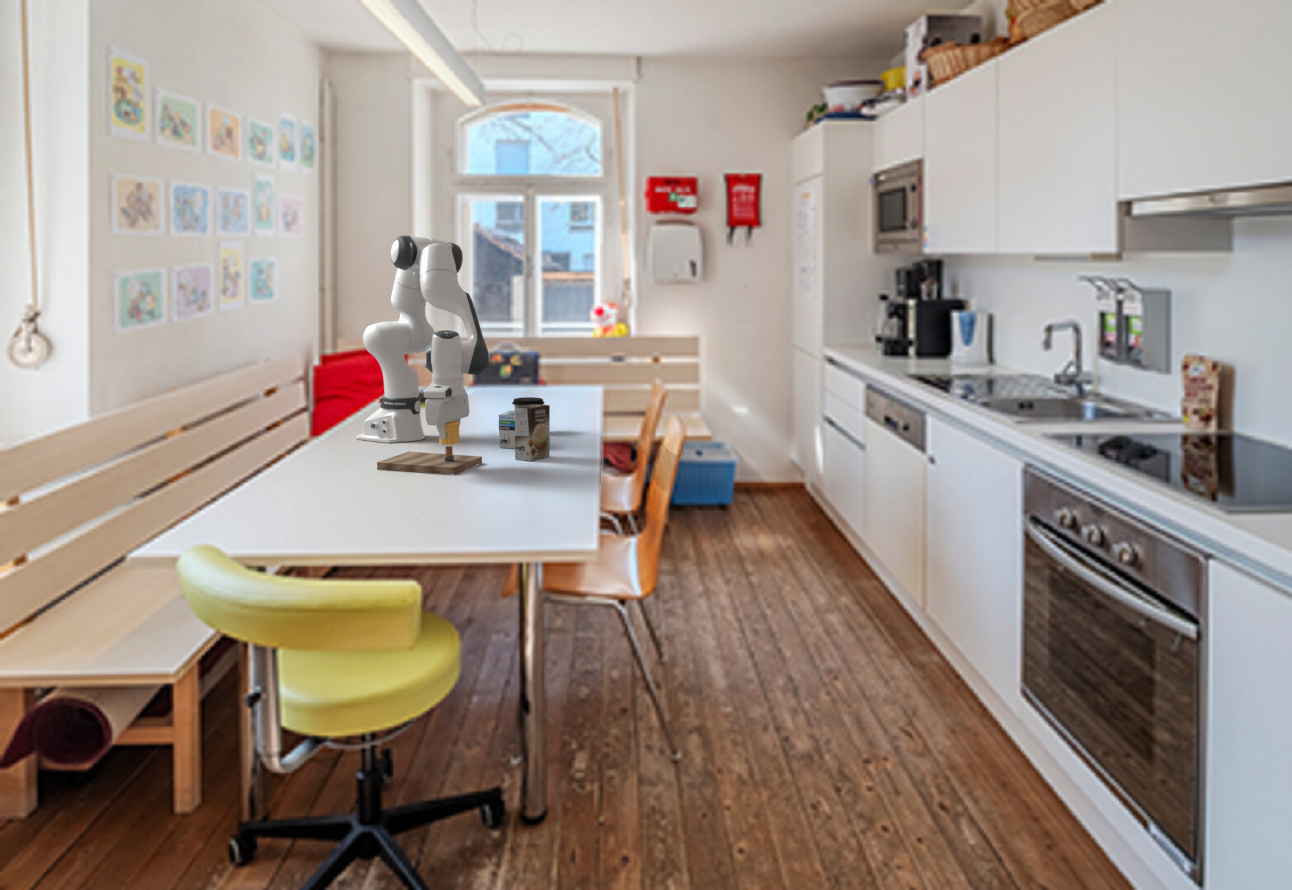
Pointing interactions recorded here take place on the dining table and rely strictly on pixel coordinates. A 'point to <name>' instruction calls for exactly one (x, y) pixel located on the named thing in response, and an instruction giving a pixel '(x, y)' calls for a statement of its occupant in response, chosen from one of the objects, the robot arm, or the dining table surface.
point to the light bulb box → (507, 430)
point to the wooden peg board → (430, 462)
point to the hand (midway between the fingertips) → (449, 436)
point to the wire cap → (451, 433)
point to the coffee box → (532, 432)
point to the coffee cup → (527, 401)
